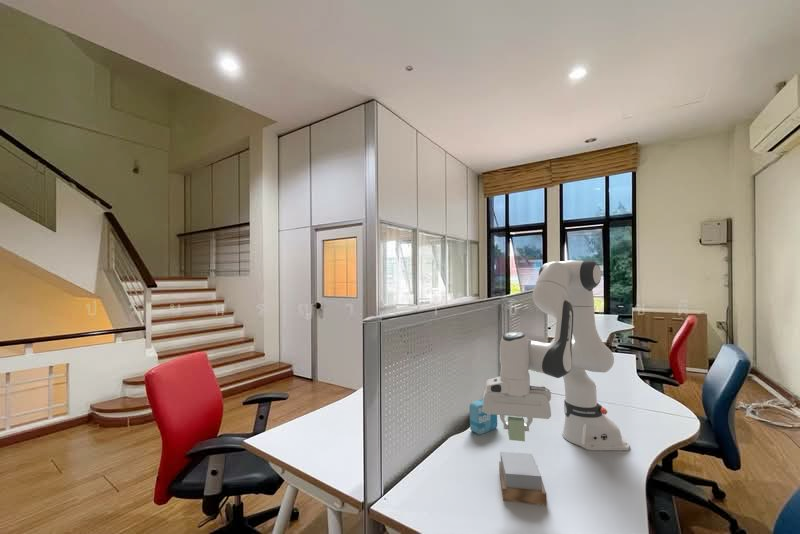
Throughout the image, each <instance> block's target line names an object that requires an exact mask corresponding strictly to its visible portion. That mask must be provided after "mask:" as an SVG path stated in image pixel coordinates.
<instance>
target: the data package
mask: <svg viewBox="0 0 800 534" xmlns="http://www.w3.org/2000/svg"><path fill="white" fill-rule="evenodd" d="M469 427H470V429H469V430H471V431H472V432H473V433H475V434H478V435H482V434H485V433H487V432H491V431H493V430H496V428H497V427H498V415H494V414H485V413H484V412H483V398H481V399H478V400H475V401H471V403H470V404H469Z"/></svg>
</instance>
